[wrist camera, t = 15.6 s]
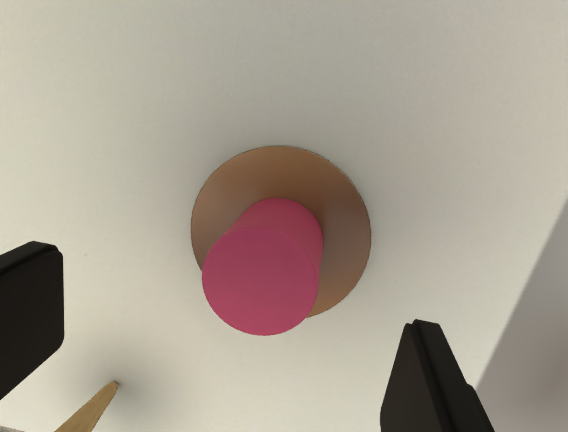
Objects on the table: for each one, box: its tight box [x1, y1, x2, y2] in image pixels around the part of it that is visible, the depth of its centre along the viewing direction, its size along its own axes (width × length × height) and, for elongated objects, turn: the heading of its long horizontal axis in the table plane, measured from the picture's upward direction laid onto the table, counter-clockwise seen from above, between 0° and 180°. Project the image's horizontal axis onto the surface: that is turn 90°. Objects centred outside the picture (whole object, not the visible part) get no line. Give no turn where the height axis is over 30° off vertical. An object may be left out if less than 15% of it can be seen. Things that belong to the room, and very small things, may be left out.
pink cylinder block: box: [202, 198, 323, 336], centre depth 17 cm, size 4×4×5 cm
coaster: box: [191, 146, 371, 318], centre depth 19 cm, size 9×9×1 cm
